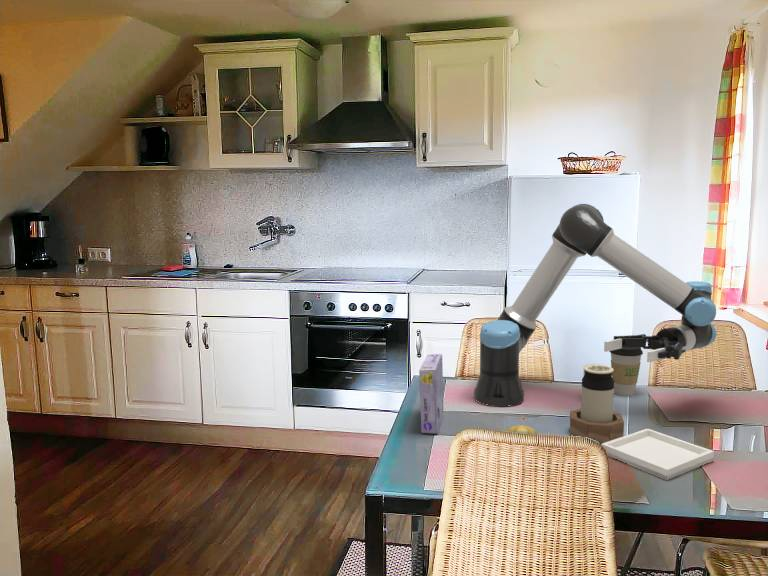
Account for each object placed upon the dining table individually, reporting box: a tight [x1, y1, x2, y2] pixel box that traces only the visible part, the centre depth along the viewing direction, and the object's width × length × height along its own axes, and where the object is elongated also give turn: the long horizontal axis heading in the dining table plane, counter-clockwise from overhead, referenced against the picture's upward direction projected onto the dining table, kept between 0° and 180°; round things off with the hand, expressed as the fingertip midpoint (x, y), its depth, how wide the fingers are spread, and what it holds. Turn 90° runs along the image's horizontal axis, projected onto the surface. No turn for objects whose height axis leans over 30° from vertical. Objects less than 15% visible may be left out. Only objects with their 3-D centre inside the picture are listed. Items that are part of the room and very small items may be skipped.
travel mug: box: [580, 363, 615, 423], centre depth 175 cm, size 8×8×18 cm
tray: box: [600, 427, 715, 481], centre depth 161 cm, size 18×18×2 cm
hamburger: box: [506, 415, 538, 434], centre depth 155 cm, size 8×7×12 cm
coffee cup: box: [608, 347, 644, 397], centre depth 209 cm, size 10×10×15 cm
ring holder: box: [569, 407, 625, 443], centre depth 176 cm, size 13×13×5 cm
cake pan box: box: [418, 353, 445, 435], centre depth 185 cm, size 19×5×18 cm, turn 169°
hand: (626, 351), depth 178 cm, fingers open, 13 cm apart
